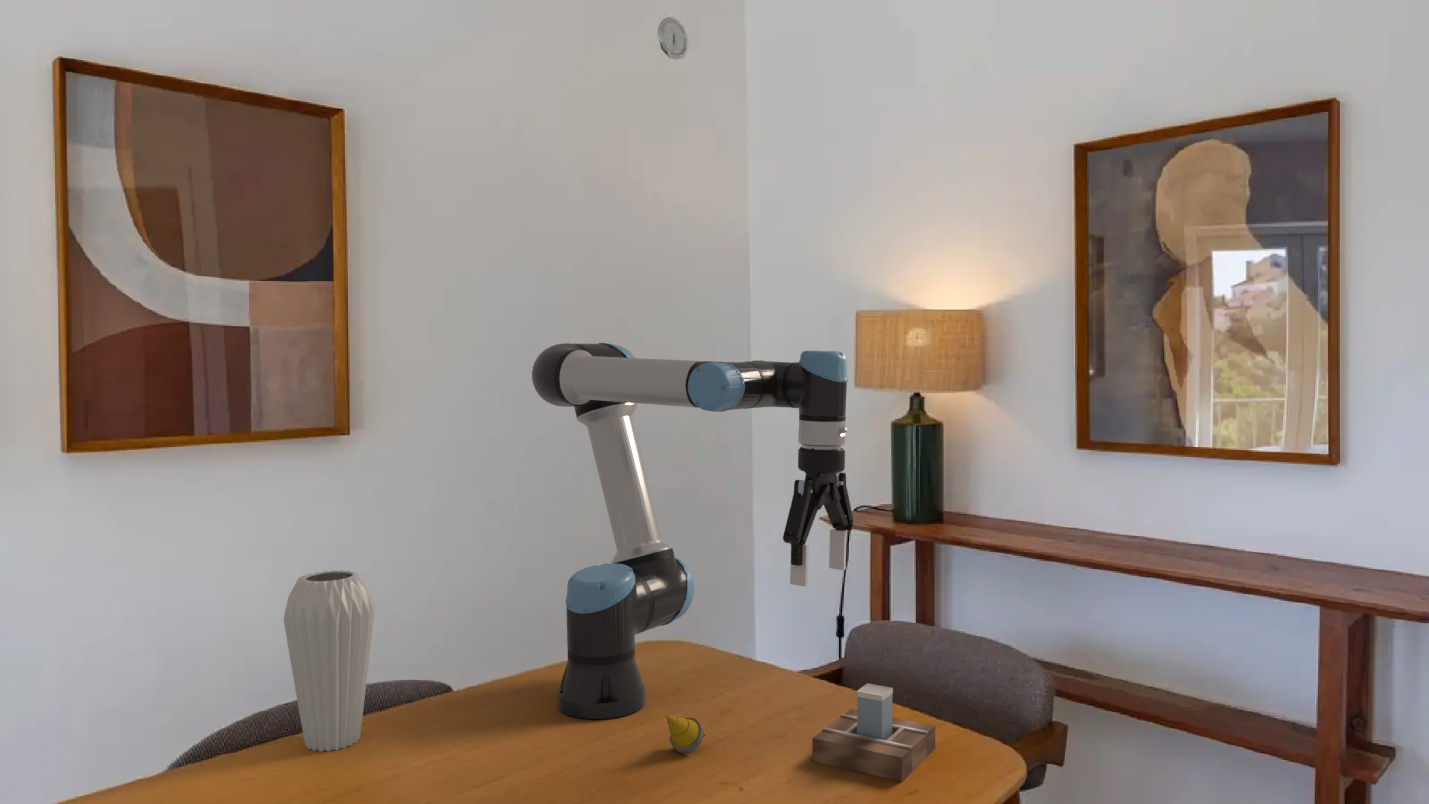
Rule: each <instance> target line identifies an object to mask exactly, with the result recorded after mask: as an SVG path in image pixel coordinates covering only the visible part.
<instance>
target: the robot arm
mask: <svg viewBox="0 0 1429 804" xmlns="http://www.w3.org/2000/svg"><path fill="white" fill-rule="evenodd" d="M799 355H800V357H799V361H794V362H788V361H787V362H786V361H785V362H784V361H767V360H751V361H742V362H741V361H740V362H739V361H707V360H706V361H705V360H704V361H702V360H685V359H684V360H683V359H662V358H661V359H658V358H638V357H635V355H634V354H633V353H632V352H631V351H630V350H629V349H627V348H625V347H623V346H621V345H618V344H611V343H608V342H607V343H606V342H599V343H566V342H565V343H557V344H553V345H550V346H549V347H547V348H546V349H545V348H544V350H543V351H542V352H541V353H539V355H538V356H537V357H536V359H535V360H534V363H533V366H532V371H531V380H532V384H533V387H534V389H535V392H536V393H537V394H538V396H539V397H540V398H541V399H542V400H544V401H545V403H546V402H547V403H548V404H550V405H554V406H557V407H573V408H574V411H575V416H576V420H577V421H578V422H579V423H580V424H582V425H584V426H585V427H586V428H587V432H588V436H589V440H590V444H591V448H592V453H593V456H594V461H595V464H596V469H597V474H598V477H599V482H600V485H601V489H602V494H603V498H604V502H605V506H606V510H607V515H608V518H609V519H608V520H609V522H610V523H609V524H610V528H611V531H612V535H613V541H614V544H615V547H616V553H615V555H614V556H613V558H612V560H611V563H603V564H600V565H598V564H596V565H592V566H588V567H585V568H581V569H579V570H578V571H576V572H574V573H573V574H572V575H571V576H570V577H569V579H568V581H567V585H566V597H565V606H566V609H565V610H566V636H567V637H566V640H567V641H566V642H567V644H566V645H567V662H566V666H565V670H564V671H563V675H562V679H561V684H560V686H559V689H558V692H557V707H558V710H560V711H561V712H562V713H563V714H564V715H568V716H570V717H573V718H580V719H585V720H586V719H587V720H597V719H598V720H603V719H604V720H605V719H613V718H619V717H620V718H621V717H625V716H628V715H631V714H633V713H636V712H639V710H641V709H642V708H644V706H645V705H646V687H645V684H644V683H643V681H642V676H641V673H640V671H639V666H638V663H637V660H636V640H635V639H636V635H638V634H641V633H644V632H646V631H649V630H652V629H656V628H657V627H660V626H661V627H662V626H665V625H666V626H667V625H669V624H672V622H674V621H675V620H678V619H680V618H681V617H682V616H684V615H685V614H686V613H687V611H688V610H689V608H690V606H691V604H692V602H693V599H694V594H695V581H694V578H693V574H692V572H691V570H690V567H688V565H687V564H685V563H684V561H682V560H681V559H679V558H677V557H676V556H675V552H674V549H673V545H671V544H669V543H668V542H666V541H665V540H664V539H663V538H662V535H661V534H662V533H661V529H660V526H659V523H658V518H657V514H656V513H657V512H656V511H655V505H654V501H653V498H652V497H653V496H652V494H651V490H650V486H649V482H648V477H647V472H646V468H645V466H644V461H643V458H642V453H641V449H640V446H639V441H638V436H637V433H636V430H635V425H634V420H633V414H634V412H635V410H636V409H637V407H638V404H643V405H644V404H645V405H656V406H657V405H658V406H667V407H668V406H671V407H682V408H683V407H684V408H696V409H697V408H698V409H700V410H703V411H706V412H712V413H713V412H715V413H717V412H718V413H719V412H720V413H723V412H726V411H731V410H745V409H746V410H747V409H760V408H772V407H773V408H788V409H789V408H791V409H798V415H799V416H798V419H799V420H798V440H797V441H798V444H799V445H801V446H800V447H799V448H798V451H797V453H798V454H797V468H798V469H799V471H801V472H804V473H805V475H804V476H805V477H804V480H803V479H802V480H801V479H795V480H794V482H793V484H794V485H793V495H792V499H791V503H790V507H789V512H788V515H787V520H786V522H785V527H784V531H783V535H782V540H783V542H784V543H785V544H790V571H789V572H790V574H789V576H790V577H789V580H790V581H789V585H793V586H798V587H799V586H800V587H804V588H805V587H808V585H809V544H808V543H807V540H808V537H809V534H810V531H811V529H812V526H813V524H814V522H815V518H816V515H817V513H818V511H819V510H821V509H822V507H824V509H825V512H826V514H827V517H828V519H829V521H830V524H831V526H832V529H829V552H828V553H829V554H828V555H829V556H828V557H829V559H828V568H829V569H833V570H840V571H846V568H847V567H846V566H847V565H846V564H847V533H848V532H847V531H850V532H851V531H853V528H854V525H853V524H854V516H853V512H852V507H851V502H850V498H849V492H848V488H847V473H846V472H844V471H845V468H846V466H845V465H846V450H845V449H844V448H843V447H842V446H844V445H845V444H846V434H847V432H848V428H847V427H846V418H847V417H846V409H847V408H846V407H847V389H848V388H847V386H848V385H847V383H848V381H849V380H848V379H849V378H848V370H847V369H848V366H847V365H848V364H847V356H846V354H845V353H844V352H841V351H839V350H803V351H802V352H801V353H800V354H799ZM806 543H807V544H806Z"/></svg>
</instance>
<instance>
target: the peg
mask: <svg viewBox="0 0 1429 804" xmlns="http://www.w3.org/2000/svg"><path fill="white" fill-rule="evenodd" d="M893 689H894V688H893V687H889V686H883V685H877V684H872V683H866V684H865V685H863V686H862V687H860V688H859V689H858V690H857V691H856V710H857V734H858V735H863V736H867V737H872V738H877V739H881V740H887V739H888V738H889V737H890V736H892V717H893V693H894V690H893Z"/></svg>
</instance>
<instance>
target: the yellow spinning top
mask: <svg viewBox="0 0 1429 804" xmlns="http://www.w3.org/2000/svg"><path fill="white" fill-rule="evenodd" d="M665 718H666V721H667V726H668V729H669V730H668V731H669V733H670V736H669V742H670V745H671V746H672V748H673V749H674V750H675V751H677V752H678V753H680V754H684V755H685V754H690V753H692V752H695V750H697V749H698V748H699V746H700V745H701V743H702V741H703V739H704V737H705V736H706V734H705V733H704V727H703V725H702V724H701V722H700V721H699V720H697V719H696V718H693V717H685V718H684V717H683V718H682V717H678V716H675V715H674V716H673V715H665Z"/></svg>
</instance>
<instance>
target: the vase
mask: <svg viewBox="0 0 1429 804" xmlns="http://www.w3.org/2000/svg"><path fill="white" fill-rule="evenodd" d="M287 597H288V598H287V603H286V606H285V610H284V615H283V624H284V632H285V636H286V642H287V648H288V653H289V659H290V665H291V672H292V677H293V684H294V689H295V696H296V700H297V707H298V713H299V717H300V718H299V720H300V725H301V730H302V734H303V735H302V736H303V741H304V746H305V748H307V750H312V752H315V751H318V752H324V751H326V752H331V751H332V750H333V751H338V750H339V749H346V748H347V747H353V744H356V743H357V744H358V741H360V740H361V733H362V725H363V724H362V723H363V717H364V706H365V698H366V697H365V696H366V691H367V690H366V688H367V681H368V672H369V671H368V670H369V662H370V653H371V646H372V637H373V636H372V635H373V626H374V618H375V606H374V602H373V599H372V596H371V592H370V589H369V587H368V586H367V584H366V583H365V580H364V579H363V578H362V576H361V575H360V573H359V572H357V571H351V570H343V569H342V570H334V569H333V570H330V571H329V570H328V571H327V570H324V571H321V572H320V571H316V572H314V573H313V572H312V573H308V574H305V575H302V576H301V577H298V578H297V580H296V582H295V583H294V586H293V588H292V589H291V591H290V592H289V595H288V596H287Z"/></svg>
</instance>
